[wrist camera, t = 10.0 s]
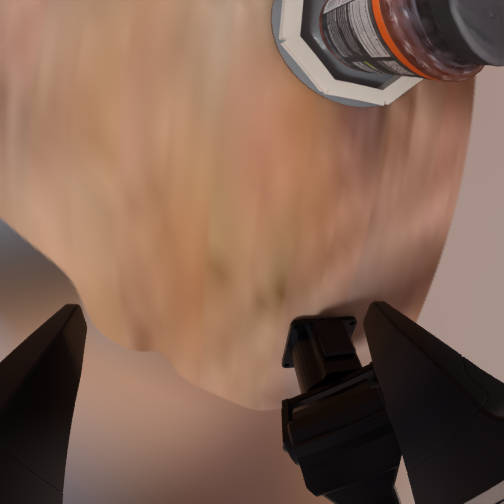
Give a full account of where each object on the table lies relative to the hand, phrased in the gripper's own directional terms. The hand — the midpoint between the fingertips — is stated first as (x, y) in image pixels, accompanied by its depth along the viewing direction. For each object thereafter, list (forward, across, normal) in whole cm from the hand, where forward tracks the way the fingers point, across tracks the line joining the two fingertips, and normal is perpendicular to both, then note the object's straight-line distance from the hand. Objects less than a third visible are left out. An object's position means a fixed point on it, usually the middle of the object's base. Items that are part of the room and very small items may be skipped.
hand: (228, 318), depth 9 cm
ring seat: (+13, -8, -11) cm, 19 cm away
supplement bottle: (+13, -8, -11) cm, 18 cm away
